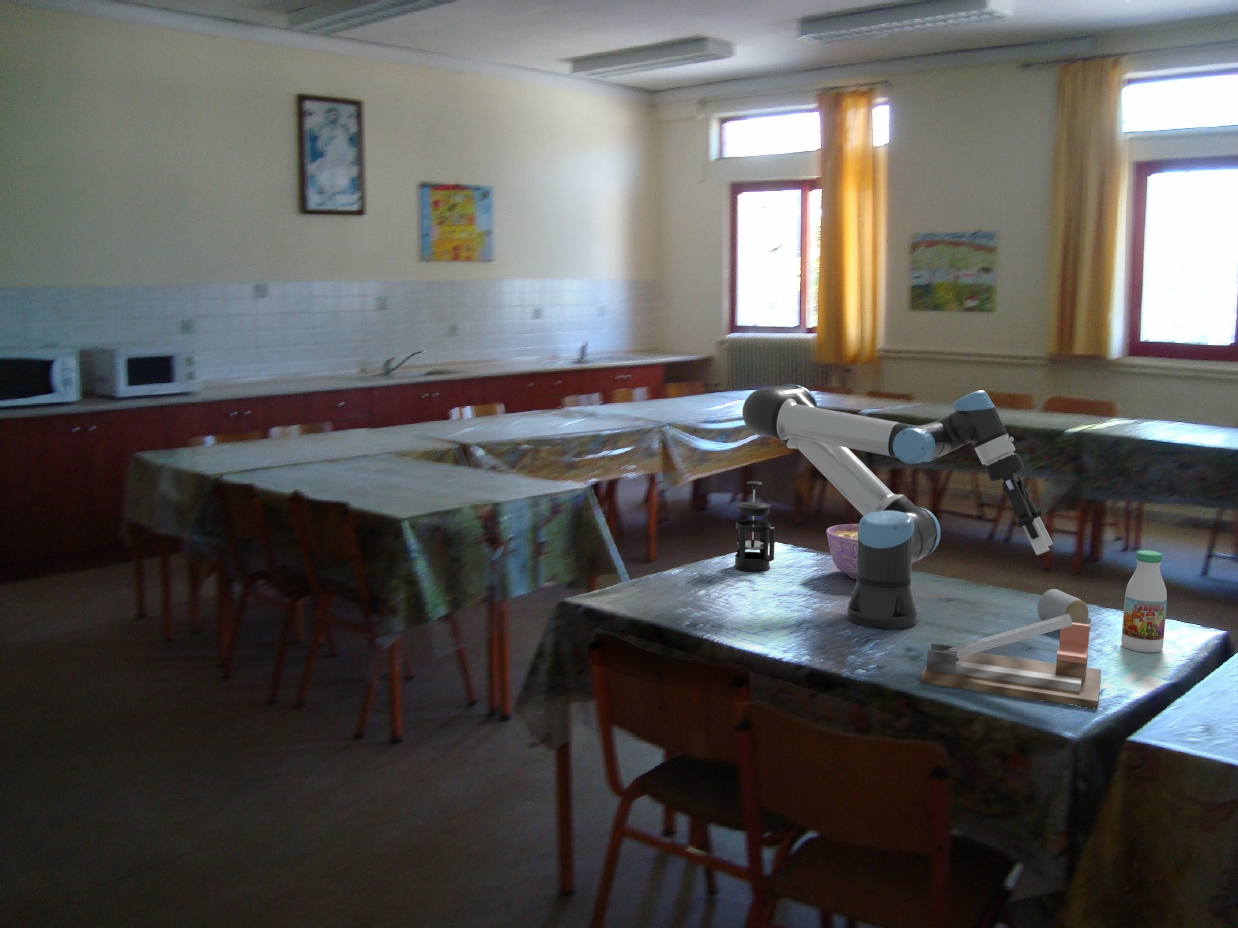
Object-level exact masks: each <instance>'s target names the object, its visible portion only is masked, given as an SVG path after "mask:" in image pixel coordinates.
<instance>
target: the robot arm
mask: <svg viewBox="0 0 1238 928" xmlns="http://www.w3.org/2000/svg"><path fill="white" fill-rule="evenodd" d="M953 408H954V411H953V412H951V413H950V414H949V415H946V416H944V417H942V418H940V419H938V420H935V421H933V422H930V423H929V422H928V423H925V424H921V425H914V424H908V423H902V422H898V421H892V420H886V419H882V418H881V419H880V418H877V417H870V416H863V415H859V414H854V413H853V414H852V413H848V412H842V411H841V412H840V411H837V410H836V411H835V410H830V409H825V408H819V407H818V402H817V400H816V396H815V395H814V394H813V393H812V392H811V391H810V390H808V388H806V387H804V386H801V385H799V384H798V385H797V384H794V383H793V384H791V383H786V384H781V385H779V386H778V385H777V386H767V387H762V388H758V389H756V390H754V391H752V393H750V394H749V395H748V396H747V398H746V399H745V401H744V403H743V406H742V411H741V413H742V419H743V421H744V424H745V426H746V428H747V429H748V430H749V431H750V432H752V433H753V434H754V435H756V436H759V437H764V438H773V439H779V440H780V442H782V443H783V444H784V445H785V446H786V447H787V448H788V449H796V450H797V449H798V450H799V451H800V452H801V454H802V455H803V456H805V457H806V459H807V460H808V461H809V462H811V464H813V466H814V467H815V468H816V469H817V470H818V471H819V473H821V474H822V475H823V476H824V477H825V478H826V480H828V481H829V482H830V483H831V484H832V486H834V487H835V488H836V489H837V490H838V491H839V493H840V494H841V495H842V496H843V497H844V498H845V499H846V500H847V501H848V502H849V503H850V504H851V505H852V506H853V507H854V508H855V509H856V510H857V511H858V512H859V513H860V514H861V515H862V517H861V519H860V520H859V522H858V524H859V529H858V553H857V579H856V583H855V587H854V588H853V592H852V594H851V596H850V599H849V602H848V604H847V608H846V609H847V610H846V617H847V618H846V619H848V621H851V622H852V623H855V624H857V625H860V626H864V627H869V628H875V629H886V630H888V629H889V630H890V629H893V630H897V629H905V628H910V627H912V626H914V625H916V624H917V623H918V610H917V608H918V607H917V605H916V602H915V598H914V595H913V591H912V588H911V585H912V582H911V581H912V565H913V564H914V563H916V562H918V561H921V560H924V559H925V558H927V557H929V556H930V554H932V553H933V552H934V551H935V550H936V548H937V547H938V545H939V544H940V540H941V526H940V523H939V520H938V519H937V517H936V516H935V515H934V513H932V512H931V511H930V510H928V509H926V508H924V507H921V506H916V505H915V504H914V503H913V502H912V501H911V500H910V499H908V497H907V496H906V495H904V494H896V493H894V492H892V491H891V489H889V488H888V487H887V486H886V484H884V482H883V481H881V479H880V478H878V477H877V475H876V474H875V473H873V472H872V470H870V468H868V467H867V465H865V463H864V462H863V461H862V460H861V459H860V458H859V457H857V456H856V455H855V454H854V452H852V451H851V450H850V449H852V450H858V451H862V452H869V453H872V454H877V455H883V456H887V457H892V458H895V459H896V458H897V459H898V460H899V461H901V462H902V463H905V464H914V465H915V464H922V463H929V462H931V461H934V460H935V461H936V460H937V459H940V458H942V457H943V456H945V455H947V454H948V453H952V452H954V451H956V450H957V449H959V448H961V447H963V446H965V445H968V444H970V443H971V444H972V446H973V448H974V451H975V452H976V454H977V456H978V458H979V461H980V462H981V464H982V465H985V468H984V470H985V472H986V474H987V477H988V479H989V480H990V481H991V482H992V483H995V482H997V481H1000V480H1003V482H1002V483H1001V485H1002V489H1003V491H1004V493H1005V494H1006V495H1007V498H1008V500H1009V502H1010V504H1011V506H1012V508H1013V510H1014V512H1015V515H1016V517H1017V521H1018V522H1017V523H1016V525H1017V526H1018V528H1022V529H1023V530H1024V533H1025V535H1026V537H1027V539H1028V541H1029V543H1030V545H1031V546H1032V549H1033V551H1034V552H1035V554H1036V556H1038V555H1042V554H1044V553H1047V552H1049V551H1050V548H1049V547H1050V546H1052V545H1054V542H1053V540H1052V539H1051V537H1050V535H1049V533H1048V531H1047V530H1048V529H1046V526H1045V524H1044V522H1043V521H1042V519H1041V516H1043V513H1042V511H1041V510H1039V511H1038V509H1037V507H1035V504H1034V503H1033V501H1032V498H1031V497H1030V495H1029V492H1028V490H1027V488H1026V486H1025V483H1024V481H1023V479H1021V478H1020V476H1018V475H1016V473H1017V472H1020V471H1022V470H1024V469H1025V465H1024V463H1023V461H1022V459H1021V457H1020V455H1019V454H1018V453H1014V452H1015V451H1016V447H1015V445H1014V444H1013V442H1014V441H1015V439H1014V437H1013V436H1010V435H1009V434H1008V431H1007V429H1006V428H1005V426H1004V423H1003V421H1002V418H1001V417H1000V414H999V413H998V411H997V409H996V406H995V405H994V403H993V401H992V400H991V398H990V396H989V394H988V393H987V392H986V391H985V390H982V389H981V390H980V389H979V390H976V391H973V392H971V393H969V394H967V395H964V396H963V397H960V398H959V399H956V400H955V401H954V402H953Z"/></svg>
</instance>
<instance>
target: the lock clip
mask: <svg viewBox="0 0 1238 928" xmlns="http://www.w3.org/2000/svg"><path fill="white" fill-rule="evenodd" d="M1090 628H1091V624H1090V625H1089V624H1081V623H1073V622H1072V625H1071V626H1069V627H1065V628H1062V629H1059V644H1058V647H1057V652H1056V661H1057V660H1059V661H1067V662H1074V663H1081V664H1086V662H1087V663H1088V658H1087V655H1089V643H1090Z"/></svg>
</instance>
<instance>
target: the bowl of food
mask: <svg viewBox="0 0 1238 928" xmlns="http://www.w3.org/2000/svg"><path fill="white" fill-rule="evenodd" d="M858 529H859V523H850V524H849V523H848V524H845V523H844V524H838V525H833V526H829V527H828V528H827V529H826V536H827V541H828V546H829V551H830V556H831V559H832V562H833V564H834V566H835V567H836V568H837V569H838V570H839V571H840V572H842V573H844V574H846V575H848V577H850V578H851V579H854V580H857V553H858Z"/></svg>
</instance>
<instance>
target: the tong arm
mask: <svg viewBox="0 0 1238 928" xmlns="http://www.w3.org/2000/svg"><path fill="white" fill-rule="evenodd" d="M1071 625H1072V620H1071V617H1070V615H1069V614H1066V615H1062V616H1059V617H1055V618H1052V619H1048V620H1045V621H1042V620H1040V621H1039V622H1035V623H1031V624H1028V625H1025V626H1021V627H1017V628H1014V629H1011V630H1007V631H1004V632H1000V633H997V634H993V635H990V636H986V637H984V638H979V639H976V640H973V641H969V642H965V643H962V644H958V645H954V646H955V647H951V648H948V649H945V650H941V651H944V652H951V653H956V658H960V657H963V656H967V655H970V654H974V653H977V652H978V653H982V652H985V651H987V650H991V649H995V648H998V647H1001V646H1005V645H1009V644H1012V643H1016V642H1019V641H1023V640H1025V639H1026V640H1027V639H1030V638H1034V637H1036V636H1040V635H1044V634H1047V633H1050V632H1054V631H1055V632H1056V631H1058V630H1060V629H1062V628H1065V627H1069V626H1071Z"/></svg>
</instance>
